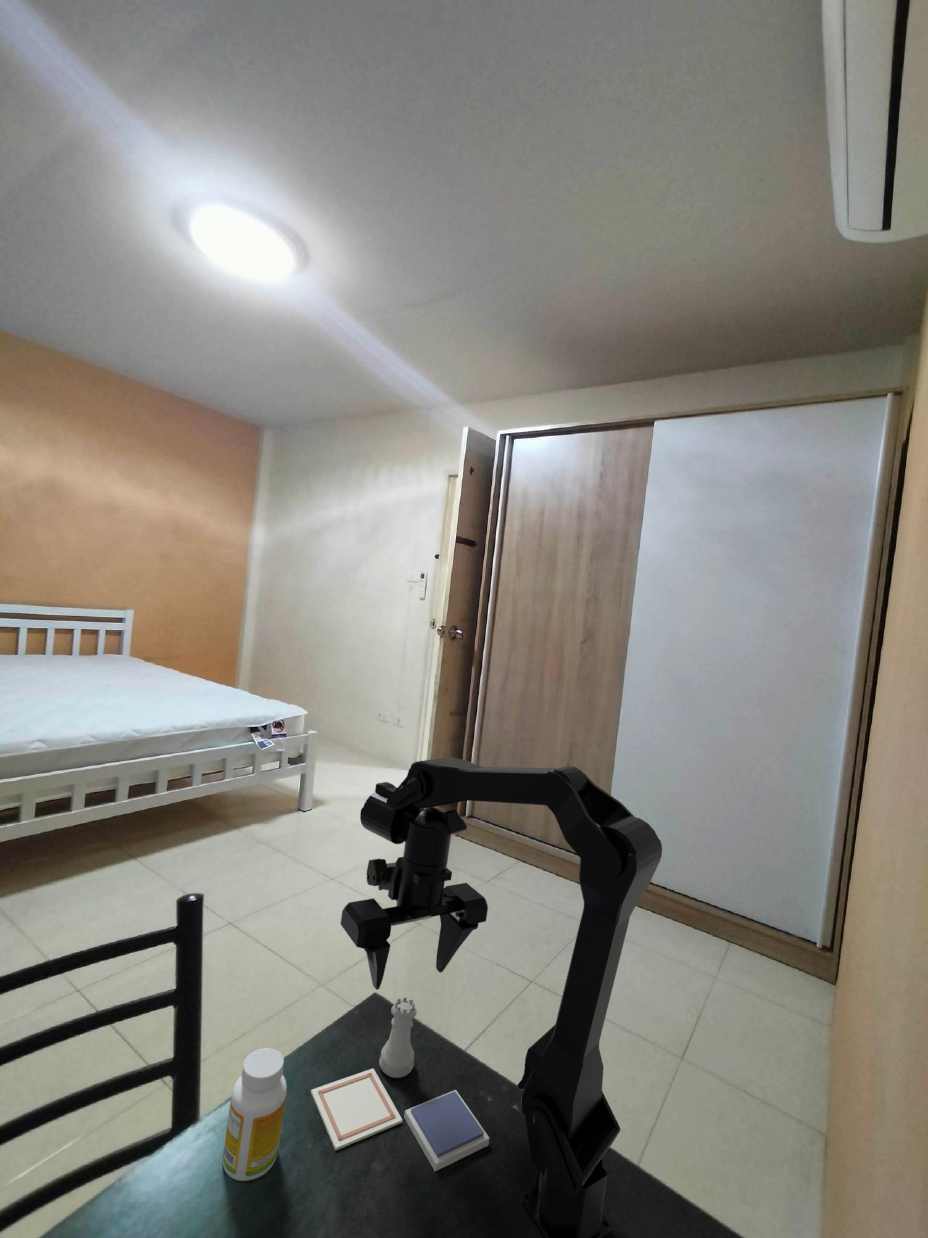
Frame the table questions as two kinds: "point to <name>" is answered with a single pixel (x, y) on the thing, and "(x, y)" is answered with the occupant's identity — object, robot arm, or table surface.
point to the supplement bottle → (255, 1116)
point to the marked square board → (355, 1108)
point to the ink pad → (446, 1129)
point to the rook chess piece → (399, 1041)
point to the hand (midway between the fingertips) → (408, 978)
